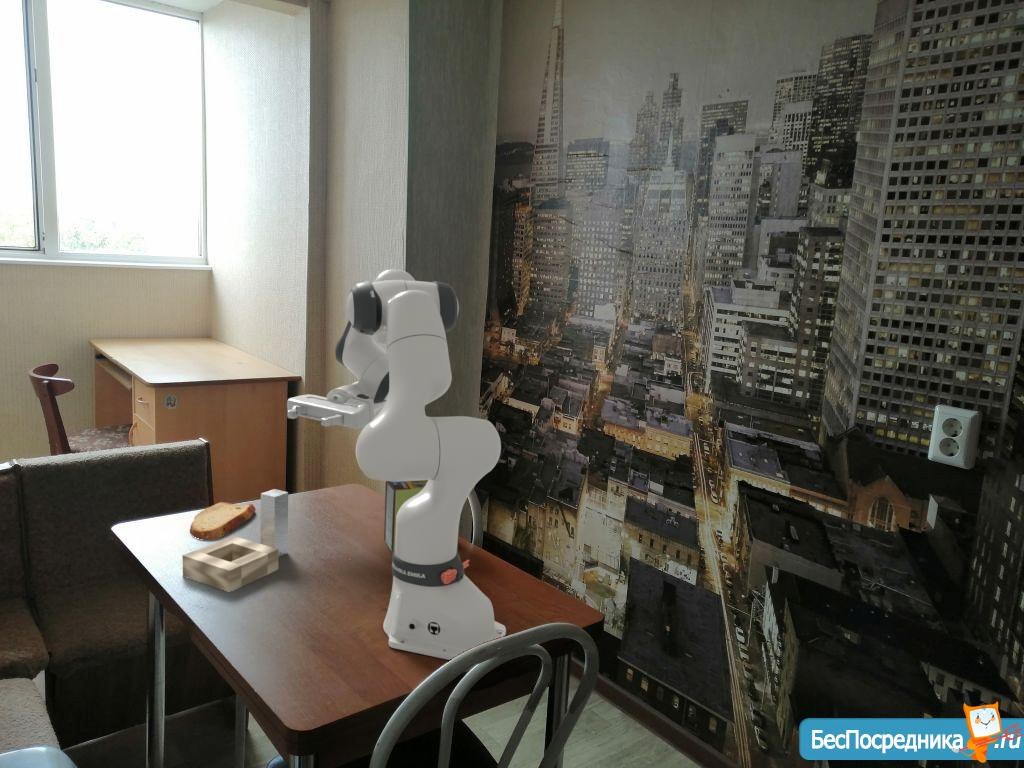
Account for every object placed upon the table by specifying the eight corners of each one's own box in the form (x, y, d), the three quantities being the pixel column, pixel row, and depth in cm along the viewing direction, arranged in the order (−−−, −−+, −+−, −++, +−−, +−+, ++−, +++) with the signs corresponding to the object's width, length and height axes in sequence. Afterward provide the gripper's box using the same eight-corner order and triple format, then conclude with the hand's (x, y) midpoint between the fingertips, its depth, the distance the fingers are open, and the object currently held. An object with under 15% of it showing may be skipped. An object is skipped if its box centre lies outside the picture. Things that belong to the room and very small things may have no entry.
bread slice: (199, 544, 168) (199, 528, 168) (173, 520, 182) (173, 505, 181) (276, 528, 180) (276, 514, 179) (246, 507, 193) (246, 493, 193)
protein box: (458, 550, 173) (461, 485, 170) (392, 556, 167) (394, 489, 164) (445, 534, 182) (448, 472, 180) (382, 539, 177) (384, 476, 174)
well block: (278, 569, 157) (278, 549, 156) (229, 592, 145) (229, 570, 145) (233, 555, 162) (233, 535, 162) (182, 576, 151) (182, 555, 150)
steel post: (287, 553, 165) (288, 492, 163) (274, 559, 162) (274, 497, 159) (274, 549, 167) (274, 488, 165) (260, 554, 164) (260, 493, 161)
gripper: (309, 385, 184) (270, 397, 172) (379, 399, 177) (343, 413, 164) (309, 409, 186) (270, 423, 174) (378, 425, 178) (343, 440, 166)
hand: (306, 419), depth 169 cm, fingers open, 8 cm apart
